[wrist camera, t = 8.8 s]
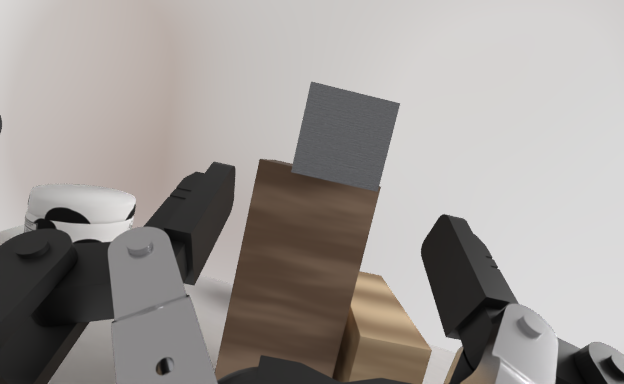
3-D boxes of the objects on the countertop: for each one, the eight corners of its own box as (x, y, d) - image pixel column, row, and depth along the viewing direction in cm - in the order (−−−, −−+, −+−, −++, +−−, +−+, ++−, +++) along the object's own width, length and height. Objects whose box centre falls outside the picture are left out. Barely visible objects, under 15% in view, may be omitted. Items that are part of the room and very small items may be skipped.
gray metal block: (377, 191, 13) (399, 103, 12) (291, 172, 12) (311, 81, 12) (327, 171, 39) (334, 143, 38) (299, 165, 38) (306, 136, 38)
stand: (371, 556, 25) (473, 208, 22) (179, 526, 24) (256, 158, 21) (346, 408, 40) (403, 189, 37) (227, 386, 39) (276, 160, 36)
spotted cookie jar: (142, 272, 64) (156, 195, 62) (95, 315, 47) (112, 211, 45) (58, 259, 61) (69, 179, 59) (-25, 300, 44) (-13, 189, 42)
